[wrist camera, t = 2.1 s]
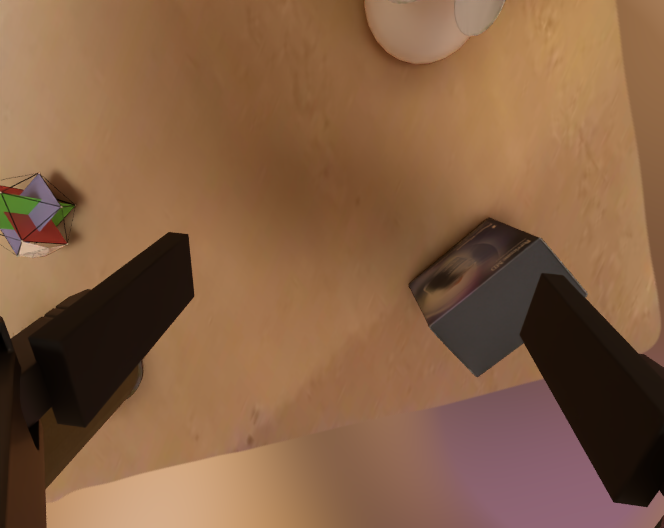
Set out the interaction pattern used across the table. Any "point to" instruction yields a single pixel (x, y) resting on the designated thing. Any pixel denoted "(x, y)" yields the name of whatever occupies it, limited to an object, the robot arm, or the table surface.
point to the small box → (485, 292)
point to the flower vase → (428, 26)
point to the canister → (79, 429)
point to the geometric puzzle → (32, 217)
